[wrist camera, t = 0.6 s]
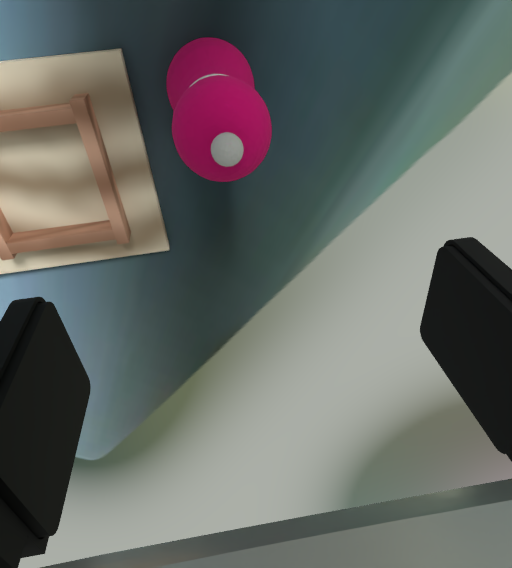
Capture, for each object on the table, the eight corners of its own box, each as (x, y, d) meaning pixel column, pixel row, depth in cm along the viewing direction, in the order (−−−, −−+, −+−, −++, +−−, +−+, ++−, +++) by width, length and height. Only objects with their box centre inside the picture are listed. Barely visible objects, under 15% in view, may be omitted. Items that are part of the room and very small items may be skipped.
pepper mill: (206, 134, 40) (222, 239, 24) (150, 72, 36) (127, 149, 20) (263, 82, 38) (321, 160, 22) (210, 10, 34) (236, 43, 18)
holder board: (-126, 74, 33) (-150, 82, 31) (121, 48, 35) (116, 54, 32) (-9, 270, 46) (-20, 288, 43) (169, 245, 47) (168, 261, 44)
